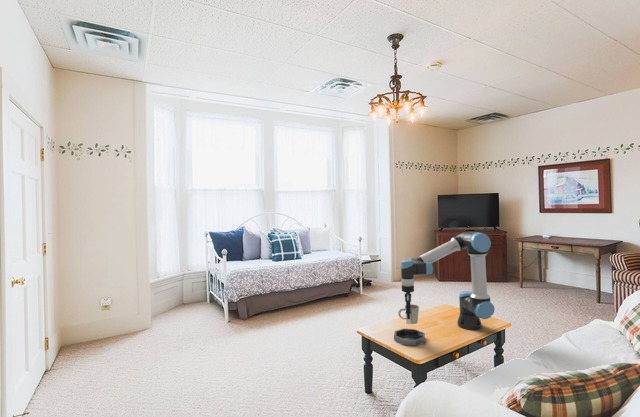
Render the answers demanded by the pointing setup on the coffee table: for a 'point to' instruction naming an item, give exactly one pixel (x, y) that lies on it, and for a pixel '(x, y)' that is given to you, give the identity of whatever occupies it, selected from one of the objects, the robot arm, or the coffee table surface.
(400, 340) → the gray octagonal container
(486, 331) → the coffee table surface
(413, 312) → the mug
